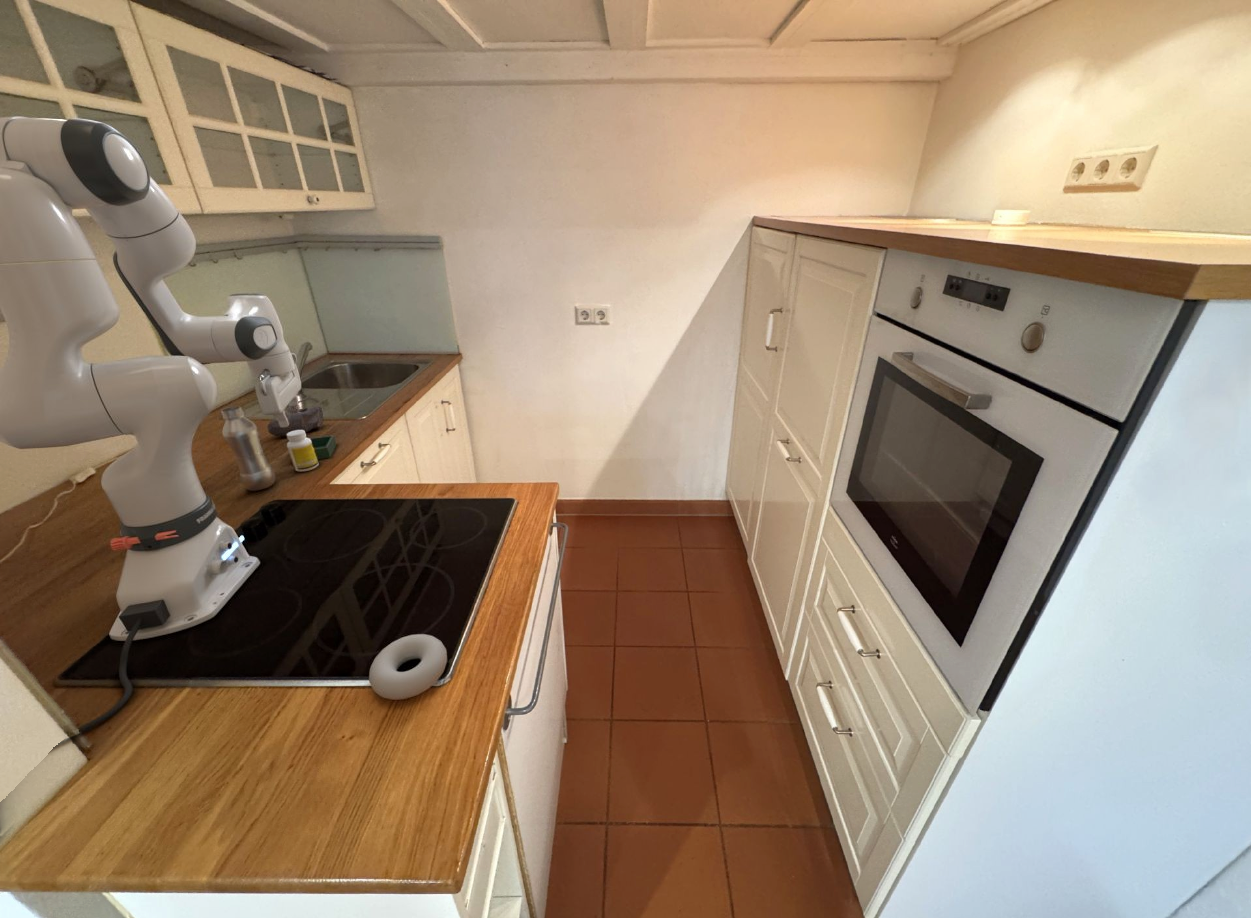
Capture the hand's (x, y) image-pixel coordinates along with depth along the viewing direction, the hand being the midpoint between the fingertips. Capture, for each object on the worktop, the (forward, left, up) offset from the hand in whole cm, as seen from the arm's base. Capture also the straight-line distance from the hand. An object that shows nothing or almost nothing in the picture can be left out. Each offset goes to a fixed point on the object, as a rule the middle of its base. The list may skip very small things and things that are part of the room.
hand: (290, 419), depth 123 cm
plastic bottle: (-8, +8, -14) cm, 18 cm away
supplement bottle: (0, 0, -14) cm, 14 cm away
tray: (+9, 0, -13) cm, 16 cm away
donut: (-79, -30, -14) cm, 86 cm away
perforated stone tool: (+28, +8, -14) cm, 32 cm away
